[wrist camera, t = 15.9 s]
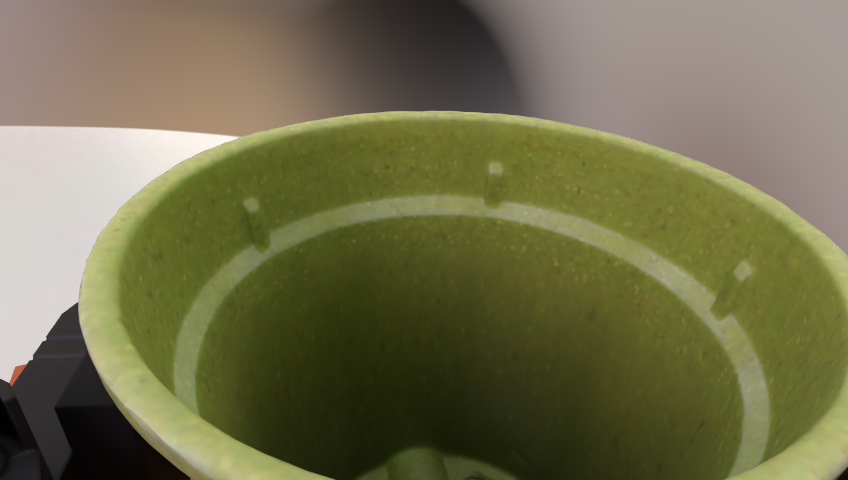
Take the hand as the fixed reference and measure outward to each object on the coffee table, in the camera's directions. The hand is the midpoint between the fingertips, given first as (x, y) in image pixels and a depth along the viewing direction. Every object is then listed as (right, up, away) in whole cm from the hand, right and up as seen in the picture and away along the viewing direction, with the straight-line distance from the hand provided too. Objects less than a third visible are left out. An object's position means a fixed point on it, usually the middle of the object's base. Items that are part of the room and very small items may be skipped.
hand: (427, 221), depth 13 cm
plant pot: (0, -8, -1) cm, 8 cm away
